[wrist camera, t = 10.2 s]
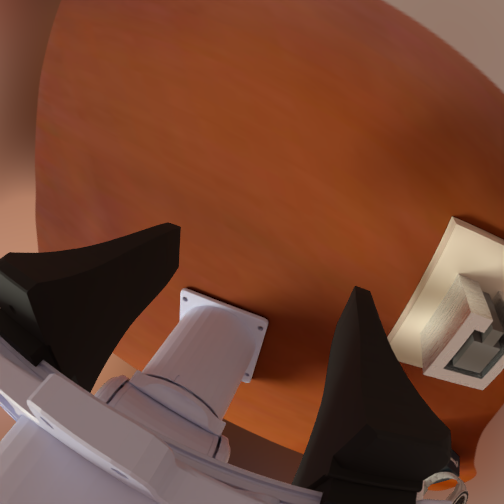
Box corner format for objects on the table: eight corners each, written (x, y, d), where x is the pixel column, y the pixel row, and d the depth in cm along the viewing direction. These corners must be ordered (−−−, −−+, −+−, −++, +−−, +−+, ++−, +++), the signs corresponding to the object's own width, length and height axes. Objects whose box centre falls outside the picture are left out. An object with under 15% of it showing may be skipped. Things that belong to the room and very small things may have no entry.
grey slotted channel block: (475, 351, 20) (482, 390, 16) (420, 333, 21) (423, 374, 17) (515, 297, 17) (531, 335, 13) (458, 273, 18) (471, 312, 14)
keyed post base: (466, 370, 22) (472, 417, 18) (381, 345, 24) (378, 396, 20) (543, 260, 16) (571, 303, 11) (452, 216, 17) (473, 257, 13)
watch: (472, 452, 27) (470, 525, 19) (420, 468, 32) (411, 536, 23) (460, 438, 27) (458, 519, 18) (404, 456, 31) (393, 531, 22)
